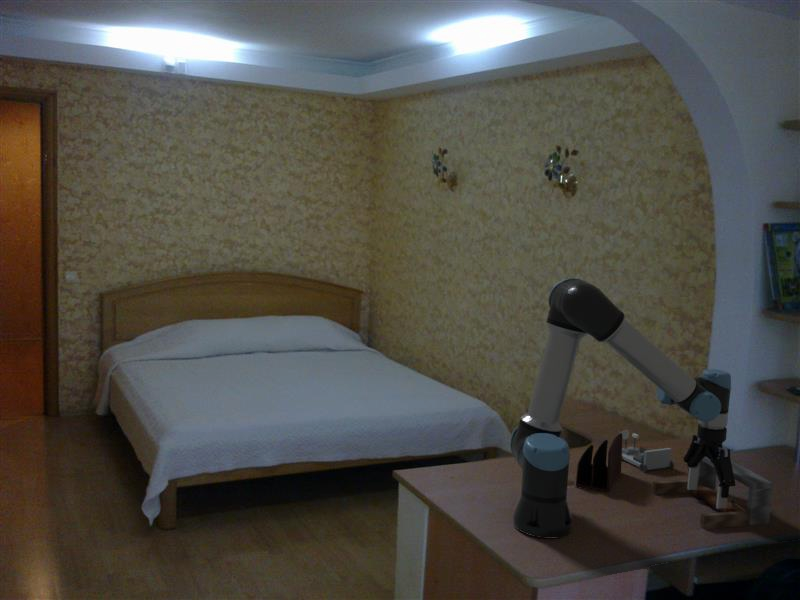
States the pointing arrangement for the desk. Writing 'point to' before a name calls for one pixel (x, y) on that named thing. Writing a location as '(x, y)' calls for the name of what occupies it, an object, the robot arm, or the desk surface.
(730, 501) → the sunglasses case
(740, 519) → the walled lane
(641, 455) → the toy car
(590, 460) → the letter holder
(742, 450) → the desk surface
